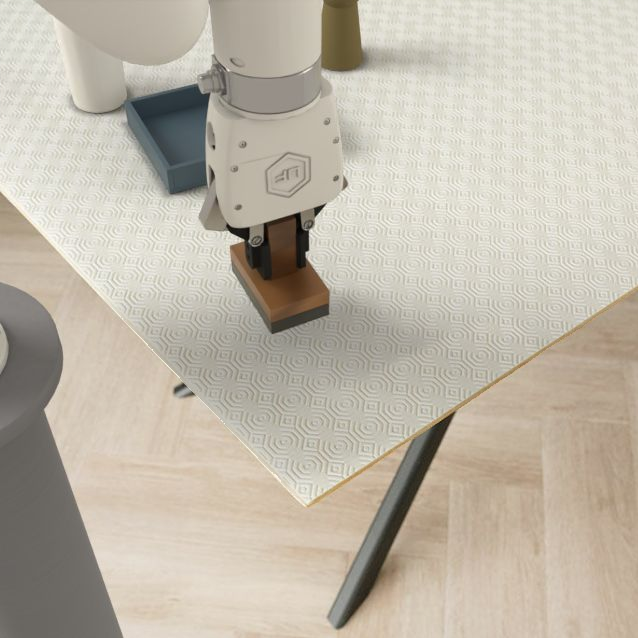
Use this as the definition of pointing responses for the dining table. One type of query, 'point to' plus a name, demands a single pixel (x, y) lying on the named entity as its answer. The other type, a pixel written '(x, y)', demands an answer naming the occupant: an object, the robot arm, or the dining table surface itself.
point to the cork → (341, 35)
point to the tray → (173, 134)
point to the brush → (282, 281)
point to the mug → (91, 73)
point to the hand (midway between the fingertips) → (278, 262)
